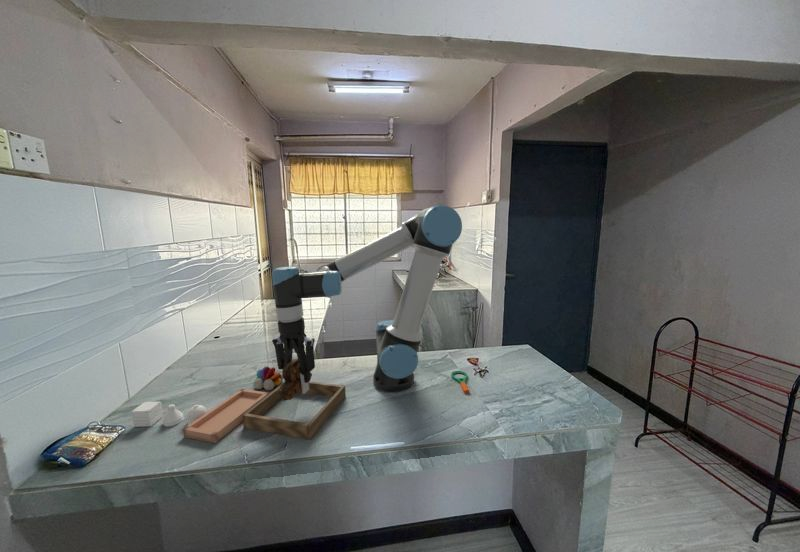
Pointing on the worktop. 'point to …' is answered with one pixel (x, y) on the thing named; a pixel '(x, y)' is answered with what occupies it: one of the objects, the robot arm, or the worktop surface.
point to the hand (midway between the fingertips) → (299, 390)
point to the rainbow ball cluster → (267, 378)
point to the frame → (292, 428)
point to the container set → (153, 412)
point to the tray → (223, 416)
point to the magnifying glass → (461, 380)
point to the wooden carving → (291, 380)
